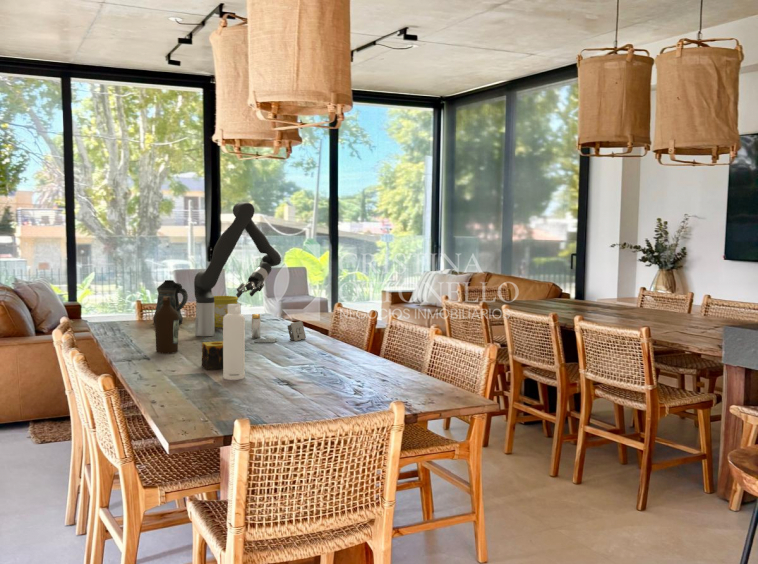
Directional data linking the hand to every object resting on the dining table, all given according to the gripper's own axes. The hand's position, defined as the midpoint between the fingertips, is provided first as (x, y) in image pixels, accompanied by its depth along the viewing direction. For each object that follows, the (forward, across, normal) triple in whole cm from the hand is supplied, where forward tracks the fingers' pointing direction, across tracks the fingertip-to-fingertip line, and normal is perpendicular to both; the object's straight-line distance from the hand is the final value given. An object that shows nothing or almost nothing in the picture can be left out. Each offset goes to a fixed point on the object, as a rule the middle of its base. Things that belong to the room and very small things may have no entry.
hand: (244, 295), depth 365 cm
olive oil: (+56, -6, -10) cm, 57 cm away
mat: (+18, +15, +16) cm, 29 cm away
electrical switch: (+8, +25, +25) cm, 36 cm away
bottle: (+83, +53, -18) cm, 100 cm away
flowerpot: (-11, -36, +27) cm, 47 cm away
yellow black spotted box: (+72, +35, -14) cm, 82 cm away
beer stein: (-7, -67, +19) cm, 70 cm away
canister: (+12, +4, +19) cm, 23 cm away
